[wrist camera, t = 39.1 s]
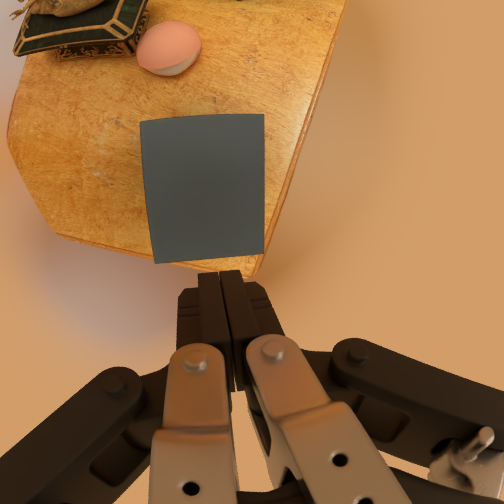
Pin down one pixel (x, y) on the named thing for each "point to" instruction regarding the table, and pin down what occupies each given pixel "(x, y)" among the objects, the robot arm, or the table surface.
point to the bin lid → (204, 186)
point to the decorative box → (82, 28)
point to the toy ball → (168, 48)
